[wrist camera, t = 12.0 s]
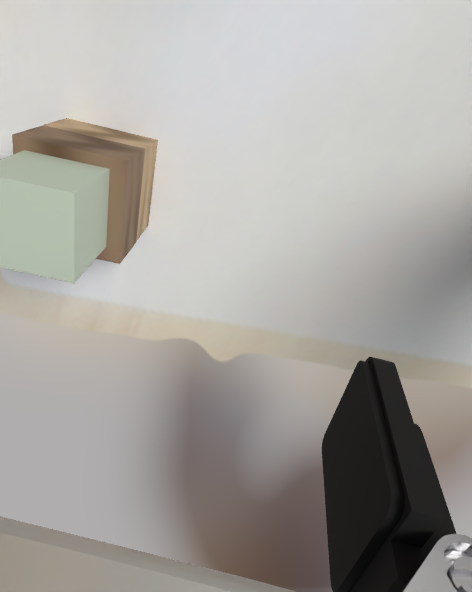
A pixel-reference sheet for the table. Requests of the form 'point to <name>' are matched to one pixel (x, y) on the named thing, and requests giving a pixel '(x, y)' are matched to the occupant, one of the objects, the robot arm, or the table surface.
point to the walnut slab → (122, 177)
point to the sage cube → (51, 215)
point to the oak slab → (128, 139)
